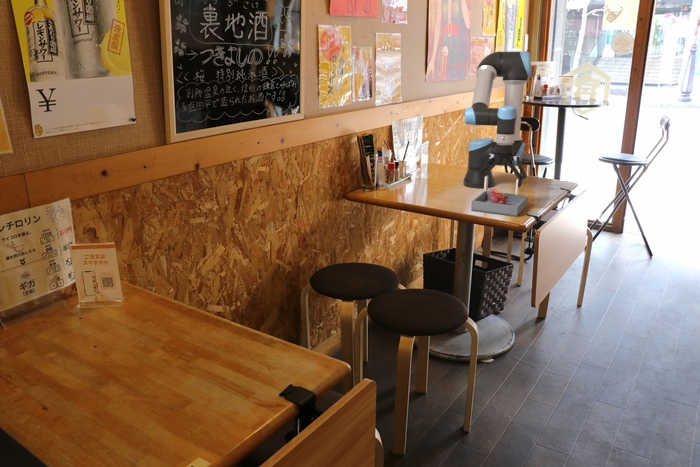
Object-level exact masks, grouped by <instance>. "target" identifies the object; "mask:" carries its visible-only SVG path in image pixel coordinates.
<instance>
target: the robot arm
mask: <svg viewBox="0 0 700 467" xmlns="http://www.w3.org/2000/svg"><path fill="white" fill-rule="evenodd" d="M475 77H476V82H475V88H474V92H473V97H472V103H471V106H470V107H466V109H465V111H464V124H466V125H469V126H470V125H471V126H491V127H493V126H494V127H495V126H496V133H495V141H494V139H493V138H492V137H485V138H484V137H483V138H475V139H472V140H471V141H470V142H469V145H468V158H467V160H468V162H467V163H468V164H467V170H466V173H465V176H464V178H463V181H462V182H463V183H462V184H463V185H464V187H468V188H474V189H483V192H484V191H488V189H490V188H493V186H495V179H494V176H493V171H492V170H493V169H494V168H495V167H497V166H500V167H508V168H510V170H511V171H512V172H513V174H514V176H516V178H517V179H516V180H515V181H516V182H515V190H514V194H515V195H517V194H518V195H519V192H520V187H522V183H523V180H525V179H527V177H528V175H527V173H526V170H525V169H524V165H523V163H522V159H523V155H524V150H525V146H526V143H525V142H523V137H522V136H521V135H520V134H521V123H522V122H521V121H522V113H523V112H522V111H523V100H524V90H525V88H524V87H525V85H526V84H527V83H528V81H529V78H532V62H531V53H530V52H529V51H523V50H522V51H521V50H518V51H494V52H492V53H489V54H488V55H486V56H485V57H484V58H483V59H482V60H481V61H480V62H479V64H477V67H476V71H475ZM497 77H498V78H502V82H503V84H504V85H505V86H504V87H505V88H504V97H503V98H504V99H503V100H504V101H503V105H500V106H499V107H498V108H497V107H490V103H491V97H492V90H493V86H494V80H495V79H496V78H497ZM517 168H518V169H519V170H518V169H517Z"/></svg>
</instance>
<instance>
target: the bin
mask: <svg viewBox="0 0 700 467" xmlns="http://www.w3.org/2000/svg"><path fill="white" fill-rule="evenodd" d="M502 193H503V194H505V195H506V196H508V198H507V199H506V200H507V201H509V202H507V201H506V204H497V203H492V201H490V199H489V196H490V194H491V191H490V190H486V191H484V190H483V192H482V193H481V192H480V194H479V195H477V196H476V197H474V198H473V199H472V200H471V205H470V206H471V207H470V208H471V209H470V210H471V212H477V213H485V214H491V215H498V216H499V215H500V216H505V217H506V216H507V217H512V218H513V217H514V218H518V217H519V215H520V214H522V212H523V211H524V210H525V209H526V208H527V207H528V206H529V195H526V194H524V195H523V194H519V193H518V194H517V195H515V193H507V192H502Z"/></svg>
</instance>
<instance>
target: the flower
mask: <svg viewBox="0 0 700 467" xmlns="http://www.w3.org/2000/svg"><path fill="white" fill-rule="evenodd" d="M489 191H491V194H490V196H489V199H490V201H492V203H497V204H506V201H507V200H506V199H507V198H508V196H506V195H505V194H503V193H504V192H502V190H501V189H498V190H497V188H495V187H494V188H493V187H491V188H489ZM507 202H509V201H507Z"/></svg>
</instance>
